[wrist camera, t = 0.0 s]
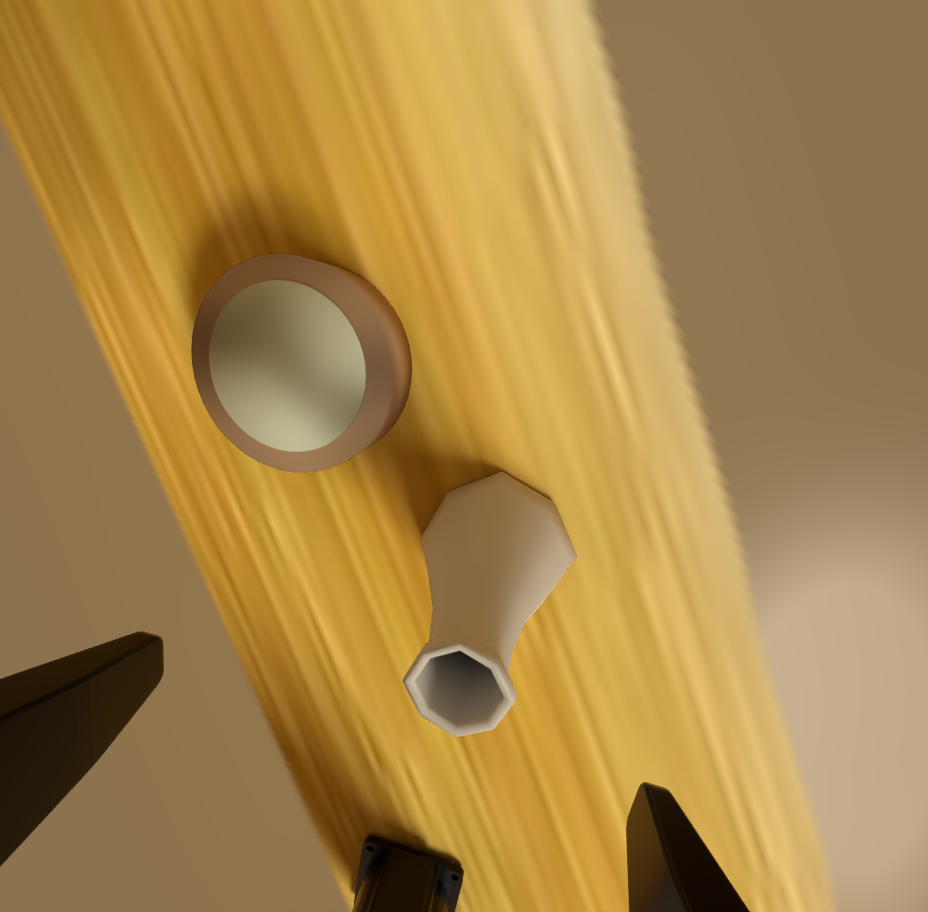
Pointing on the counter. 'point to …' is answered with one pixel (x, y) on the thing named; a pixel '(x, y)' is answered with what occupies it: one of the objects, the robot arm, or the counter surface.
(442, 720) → the flask
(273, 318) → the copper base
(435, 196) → the counter surface
